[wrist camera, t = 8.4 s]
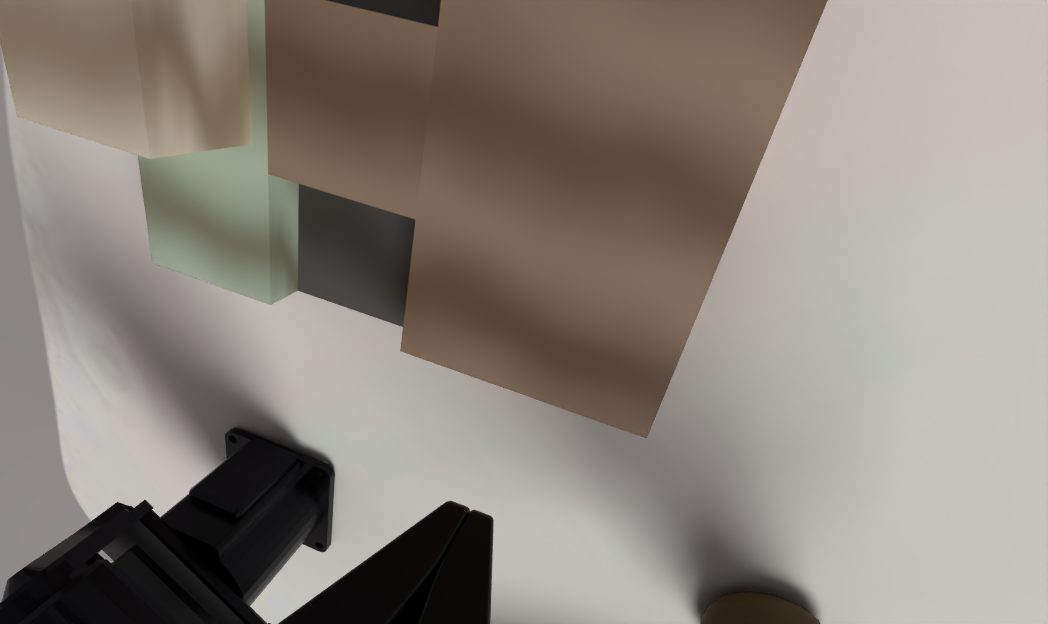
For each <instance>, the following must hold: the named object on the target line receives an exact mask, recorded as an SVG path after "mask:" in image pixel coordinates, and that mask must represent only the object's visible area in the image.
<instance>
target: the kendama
mask: <svg viewBox="0 0 1048 624" xmlns="http://www.w3.org/2000/svg"><path fill="white" fill-rule="evenodd" d="M701 624H820V622H819V620H818V619H816V618H815V617H814V616H812V615H811V614H810V613H808V612H807V611H805V610H804V609H803V608H801V607H800V606H798V605H796V604H794V603H791V602H789V601H786V600H784V599H781V598H779V597H776V596H774V595H768V594H760V593H753V592H745V593H737V594H729V595H725V596H723V597H721V598H720V599H718V600H716V601H715V602H713V603H711V604H710V605H709V606H708V608H707V609H706V611H705V613H704V615H703V616H702V618H701Z"/></svg>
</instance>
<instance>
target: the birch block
mask: <svg viewBox="0 0 1048 624" xmlns="http://www.w3.org/2000/svg"><path fill="white" fill-rule="evenodd" d="M0 43H1V47H2V52H3V56H4V61H5V65H6V69H7V74H8V78H9V82H10V87H11V91H12V96H13V100H14V104H15V109H16V113H17V117H20V118H23V119H26V120H29V121H32V122H35V123H39V124H42V125H45V126H48V127H51V128H54V129H57V130H61V131H64V132H67V133H70V134H73V135H76V136H79V137H82V138H86V139H89V140H92V141H95V142H98V143H101V144H104V145H107V146H111V147H114V148H117V149H120V150H123V151H126V152H129V153H133V154H136V155H139V156H142V157H145V158H148V159H154V158H161V157H168V156H175V155H182V154H188V153H195V152H202V151H209V150H216V149H223V148H230V147H237V146H244V145H251V123H250V91H249V59H248V27H247V0H0Z"/></svg>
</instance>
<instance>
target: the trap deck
mask: <svg viewBox="0 0 1048 624" xmlns="http://www.w3.org/2000/svg"><path fill="white" fill-rule="evenodd" d="M826 3H827V0H247V27H248V59H249V91H250V123H251V145H244V146H237V147H230V148H223V149H216V150H209V151H202V152H195V153H188V154H182V155H175V156H168V157H161V158H154V159H148V158H145V157H142V156H139V155H138V160H139V167H140V175H141V182H142V190H143V197H144V205H145V212H146V220H147V227H148V235H149V242H150V250H151V257H152V263H154V264H157V265H159V266H162V267H165V268H168V269H171V270H174V271H176V272H179V273H182V274H185V275H188V276H190V277H193V278H196V279H199V280H202V281H205V282H207V283H210V284H213V285H216V286H219V287H221V288H224V289H227V290H230V291H233V292H236V293H238V294H241V295H244V296H247V297H250V298H252V299H255V300H258V301H261V302H264V303H267V304H269V305H272V304H273V303H275V302H277V301H279V300H281V299H283V298H285V297H287V296H288V295H290V294H292V293H294V292H296V291H301V292H304V293H307V294H310V295H312V296H315V297H318V298H321V299H324V300H327V301H330V302H333V303H336V304H338V305H341V306H344V307H347V308H350V309H353V310H356V311H359V312H362V313H364V314H367V315H370V316H373V317H376V318H379V319H382V320H385V321H388V322H390V323H393V324H396V325H399V326H402V327H403V333H402V342H401V350H400V351H402V352H405V353H407V354H410V355H413V356H416V357H419V358H421V359H424V360H427V361H430V362H433V363H436V364H438V365H441V366H444V367H447V368H450V369H452V370H455V371H458V372H461V373H464V374H467V375H469V376H472V377H475V378H478V379H481V380H483V381H486V382H489V383H492V384H495V385H498V386H500V387H503V388H506V389H509V390H512V391H514V392H517V393H520V394H523V395H526V396H529V397H531V398H534V399H537V400H540V401H543V402H545V403H548V404H551V405H554V406H557V407H560V408H562V409H565V410H568V411H571V412H574V413H576V414H579V415H582V416H585V417H588V418H591V419H593V420H596V421H599V422H602V423H605V424H607V425H610V426H613V427H616V428H619V429H621V430H624V431H627V432H630V433H633V434H636V435H638V436H641V437H644V438H647V436H648V433H649V431H650V429H651V426H652V424H653V421H654V419H655V417H656V414H657V412H658V409H659V407H660V404H661V402H662V400H663V397H664V395H665V392H666V390H667V388H668V385H669V383H670V380H671V378H672V375H673V373H674V371H675V368H676V366H677V363H678V361H679V358H680V356H681V354H682V351H683V349H684V346H685V344H686V342H687V339H688V337H689V334H690V332H691V329H692V327H693V325H694V322H695V320H696V317H697V315H698V313H699V310H700V308H701V305H702V303H703V300H704V298H705V296H706V293H707V291H708V288H709V286H710V283H711V281H712V279H713V276H714V274H715V271H716V269H717V267H718V264H719V262H720V259H721V257H722V254H723V252H724V250H725V247H726V245H727V242H728V240H729V238H730V235H731V233H732V230H733V228H734V225H735V223H736V221H737V218H738V216H739V213H740V211H741V208H742V206H743V204H744V201H745V199H746V196H747V194H748V192H749V189H750V187H751V184H752V182H753V179H754V177H755V175H756V172H757V170H758V167H759V165H760V163H761V160H762V158H763V155H764V153H765V150H766V148H767V146H768V143H769V141H770V138H771V136H772V133H773V131H774V129H775V126H776V124H777V121H778V119H779V117H780V114H781V112H782V109H783V107H784V104H785V102H786V100H787V97H788V95H789V92H790V90H791V88H792V85H793V83H794V80H795V78H796V75H797V73H798V71H799V68H800V66H801V63H802V61H803V58H804V56H805V54H806V51H807V49H808V46H809V44H810V42H811V39H812V37H813V34H814V32H815V29H816V27H817V25H818V22H819V20H820V17H821V15H822V13H823V10H824V8H825V5H826Z"/></svg>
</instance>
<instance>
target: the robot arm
mask: <svg viewBox="0 0 1048 624" xmlns="http://www.w3.org/2000/svg"><path fill="white" fill-rule="evenodd" d="M225 441H226V454H227V460H225V461H224V462H223V463H222V464H221V465H219V466H218V467H217V468H216V469H214V470H213V471H212V472H211V473H210V474H208V475H207V476H206V477H205V478H203V479H202V480H201V481H200V482H199V483H197V484H196V485H195V486H194V487H192V488H191V489H190V491H189V494H188V495H187V496H186V497H184V498H183V499H182V500H181V501H180V502H178V503H177V504H176V505H175V506H173V507H172V508H171V509H170V510H169V511H167V512H166V513H165V514H164V515H163V516H161V517H159V516H158V515H157V514H156V513H155V512H154V511H153V510H152V509H153V507H152V506H151V505H150V504H149V503H148V502H147V501H146V500H144V501H143V502H141V503H140V504H139V505H137V506H136V507H135V508H133V507H132V506H127V505H125V504H122V503H119V502H117V503H115V504H114V505H113V506H111V507H110V508H109V509H107V510H106V511H105V512H103V513H102V514H100V515H99V516H98V517H96V518H95V519H94V520H92V521H91V522H90V523H88V524H87V525H86V526H84V527H83V528H81V529H80V530H78V531H77V532H76V533H74V534H73V535H71V536H70V537H68V538H67V539H65V540H64V541H62V542H61V543H59V544H58V545H57V546H55V547H54V548H52V549H51V550H49V551H48V552H46V553H45V554H43V555H42V556H40V557H39V558H38V559H36V560H34V561H33V562H32V563H30V564H29V565H27V566H26V567H24V568H23V569H21V570H20V571H19V572H17V573H16V574H15V575H13V576H12V577H11V578H10V579H8V581H7V584H6V588H5V591H4V595H3V599H2V602H1V603H0V624H267V623H266V622H265V621H264V620H263V619H262V618H261V617H260V616H259V615H258V614H257V613H256V612H255V611H254V610H253V609H252V608H251V607H250V605H251V604H252V603H253V602H254V601H255V599H256V598H257V597H258V596H259V595H260V594H261V592H262V591H263V590H264V589H265V588H266V586H267V585H268V584H269V583H270V582H271V580H272V579H273V578H274V577H275V576H276V574H277V573H278V572H279V571H280V570H281V568H282V567H283V566H284V565H285V564H286V562H287V561H288V560H289V559H290V558H291V556H292V555H293V554H294V553H295V552H296V550H297V549H298V548H299V547H300V546H301V545H302V544H304V545H306V546H308V547H311V548H313V549H315V550H317V551H320V552H325V551H326V550H327V549H328V548H329V546H330V545H331V534H332V516H333V497H334V478H335V473H334V470H333V468H332V467H331V466H329V465H328V464H326V463H323V462H321V461H318V460H316V459H313V458H311V457H308V456H306V455H303V454H301V453H299V452H296V451H294V450H291V449H289V448H286V447H284V446H281V445H279V444H276V443H274V442H271V441H269V440H266V439H264V438H261V437H259V436H257V435H254V434H252V433H249V432H247V431H244V430H242V429H239V428H236V427H235V428H232V429H231V430H229V431H228V432H227V433H226V434H225ZM100 550H103V551H104V552H105V553H106V554H107V555H108V556H109V557H110V558H111V559H112V560H113V561H114V562H113V563H110V562H109V561H108V560H105V559H104V558H103V557H101V556H100V555H99V554H98V552H99V551H100ZM492 554H493V518H492V516H490V515H487V514H485V513H482V512H479V511H477V510H472V511H470V509H469V508H468V507H466V506H464V505H461V504H458V503H456V502H453V501H447V502H445V503H444V504H443V505H441V506H440V507H438V508H437V509H436V510H434V511H433V512H432V513H430V514H429V515H427V516H426V517H425V518H423V519H422V520H420V521H419V522H418V523H416V524H415V525H414V526H412V527H411V528H409V529H408V530H407V531H405V532H404V533H403V534H401V535H400V536H398V537H397V538H396V539H394V540H393V541H391V542H390V543H389V544H387V545H386V546H385V547H383V548H382V549H380V550H379V551H378V552H376V553H375V554H374V555H372V556H371V557H369V558H368V559H367V560H365V561H364V562H363V563H361V564H360V565H358V566H357V567H356V568H354V569H353V570H351V571H350V572H349V573H347V574H346V575H345V576H343V577H342V578H340V579H339V580H338V581H336V582H335V583H334V584H332V585H331V586H329V587H328V588H327V589H325V590H324V591H323V592H321V593H320V594H318V595H317V596H316V597H314V598H313V599H311V600H310V601H309V602H307V603H306V604H305V605H303V606H302V607H300V608H299V609H298V610H296V611H295V612H294V613H292V614H291V615H289V616H288V617H287V618H285V619H284V620H283V621H281V622H280V623H278V624H490V617H491V585H492ZM268 624H271V623H268Z"/></svg>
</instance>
